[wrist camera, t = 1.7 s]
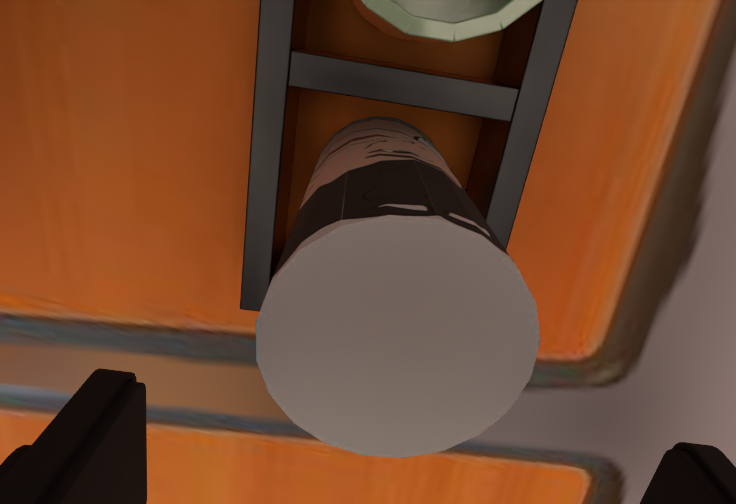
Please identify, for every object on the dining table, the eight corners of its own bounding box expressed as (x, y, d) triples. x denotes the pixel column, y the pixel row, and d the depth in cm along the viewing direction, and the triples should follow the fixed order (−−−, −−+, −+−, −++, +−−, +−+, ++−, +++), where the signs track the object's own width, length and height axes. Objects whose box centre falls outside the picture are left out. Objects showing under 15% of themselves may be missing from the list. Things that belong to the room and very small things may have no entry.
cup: (443, 111, 24) (550, 203, 10) (445, 239, 27) (532, 450, 13) (305, 121, 24) (230, 226, 11) (321, 248, 27) (276, 466, 13)
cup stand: (258, 269, 27) (239, 309, 23) (298, -245, 19) (280, -324, 15) (463, 297, 28) (480, 341, 24) (589, -184, 20) (649, -244, 16)
